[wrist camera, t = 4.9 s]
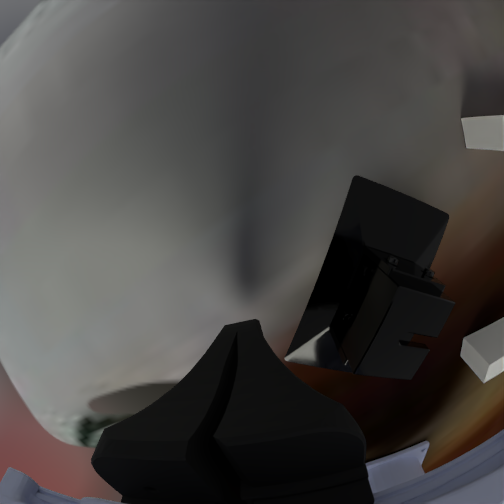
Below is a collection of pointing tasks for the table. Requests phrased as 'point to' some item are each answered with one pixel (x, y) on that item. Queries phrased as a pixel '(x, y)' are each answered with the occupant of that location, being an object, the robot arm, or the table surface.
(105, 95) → the table surface
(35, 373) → the table surface
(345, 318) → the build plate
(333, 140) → the table surface
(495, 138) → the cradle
